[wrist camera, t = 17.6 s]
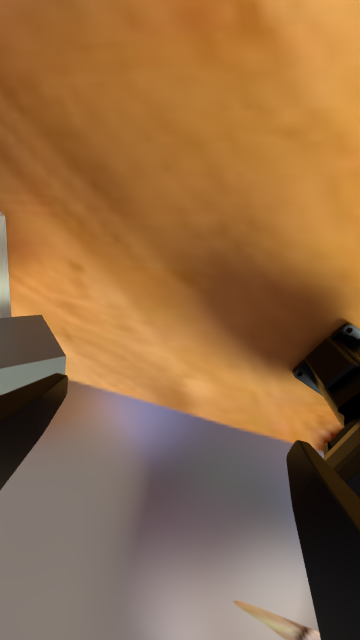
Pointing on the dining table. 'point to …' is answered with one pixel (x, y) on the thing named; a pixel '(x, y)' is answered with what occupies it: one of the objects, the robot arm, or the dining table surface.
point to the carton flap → (23, 337)
